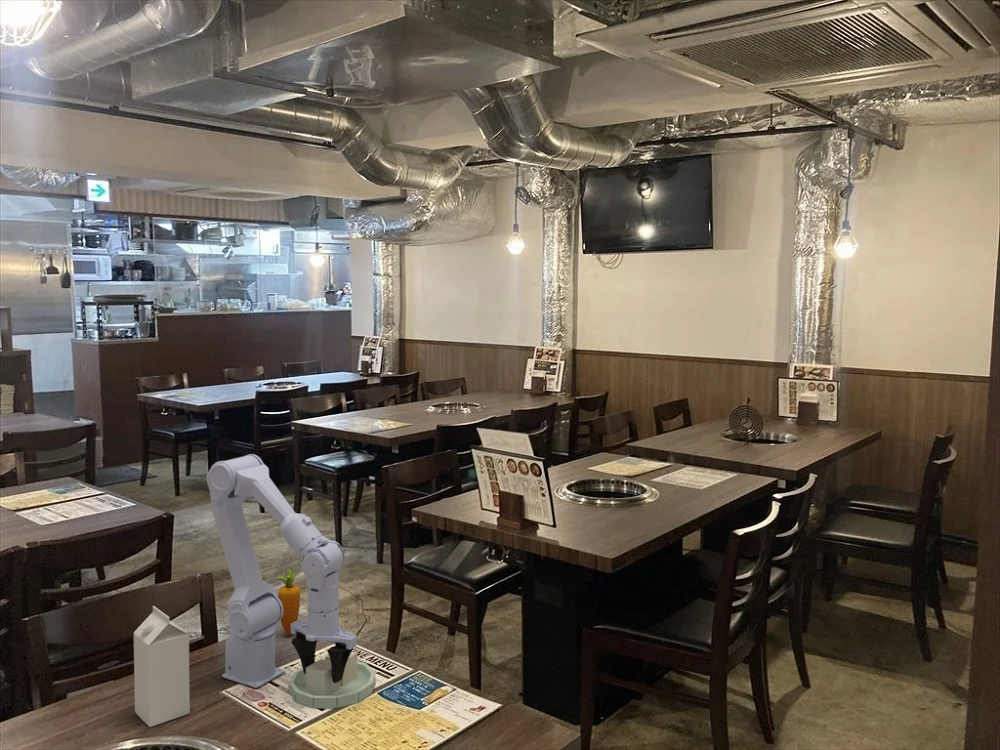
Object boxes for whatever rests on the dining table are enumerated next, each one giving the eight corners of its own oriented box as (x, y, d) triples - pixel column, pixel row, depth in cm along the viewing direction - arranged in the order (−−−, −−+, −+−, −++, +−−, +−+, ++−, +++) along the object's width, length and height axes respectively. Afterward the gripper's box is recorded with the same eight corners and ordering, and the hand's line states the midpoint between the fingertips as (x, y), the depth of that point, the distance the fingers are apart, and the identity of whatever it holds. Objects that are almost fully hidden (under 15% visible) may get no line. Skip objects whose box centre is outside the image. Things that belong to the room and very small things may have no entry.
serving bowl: (272, 694, 149) (272, 684, 149) (327, 662, 163) (327, 652, 163) (338, 716, 142) (338, 705, 142) (390, 680, 156) (390, 670, 156)
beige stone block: (325, 680, 154) (325, 656, 154) (339, 671, 158) (339, 648, 157) (342, 686, 152) (342, 661, 152) (357, 677, 156) (357, 652, 155)
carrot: (294, 641, 173) (294, 575, 172) (273, 639, 174) (273, 573, 173) (304, 632, 178) (304, 567, 177) (284, 630, 179) (284, 566, 178)
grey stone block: (305, 693, 149) (305, 667, 149) (321, 683, 153) (321, 658, 152) (324, 698, 147) (324, 672, 147) (339, 688, 151) (339, 663, 151)
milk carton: (174, 699, 147) (172, 601, 145) (190, 714, 142) (188, 612, 140) (134, 713, 142) (132, 610, 140) (149, 728, 137) (148, 622, 135)
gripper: (279, 606, 149) (279, 675, 150) (339, 622, 142) (339, 694, 143) (304, 595, 155) (304, 661, 156) (364, 609, 148) (363, 678, 149)
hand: (323, 676), depth 150 cm, fingers open, 6 cm apart
